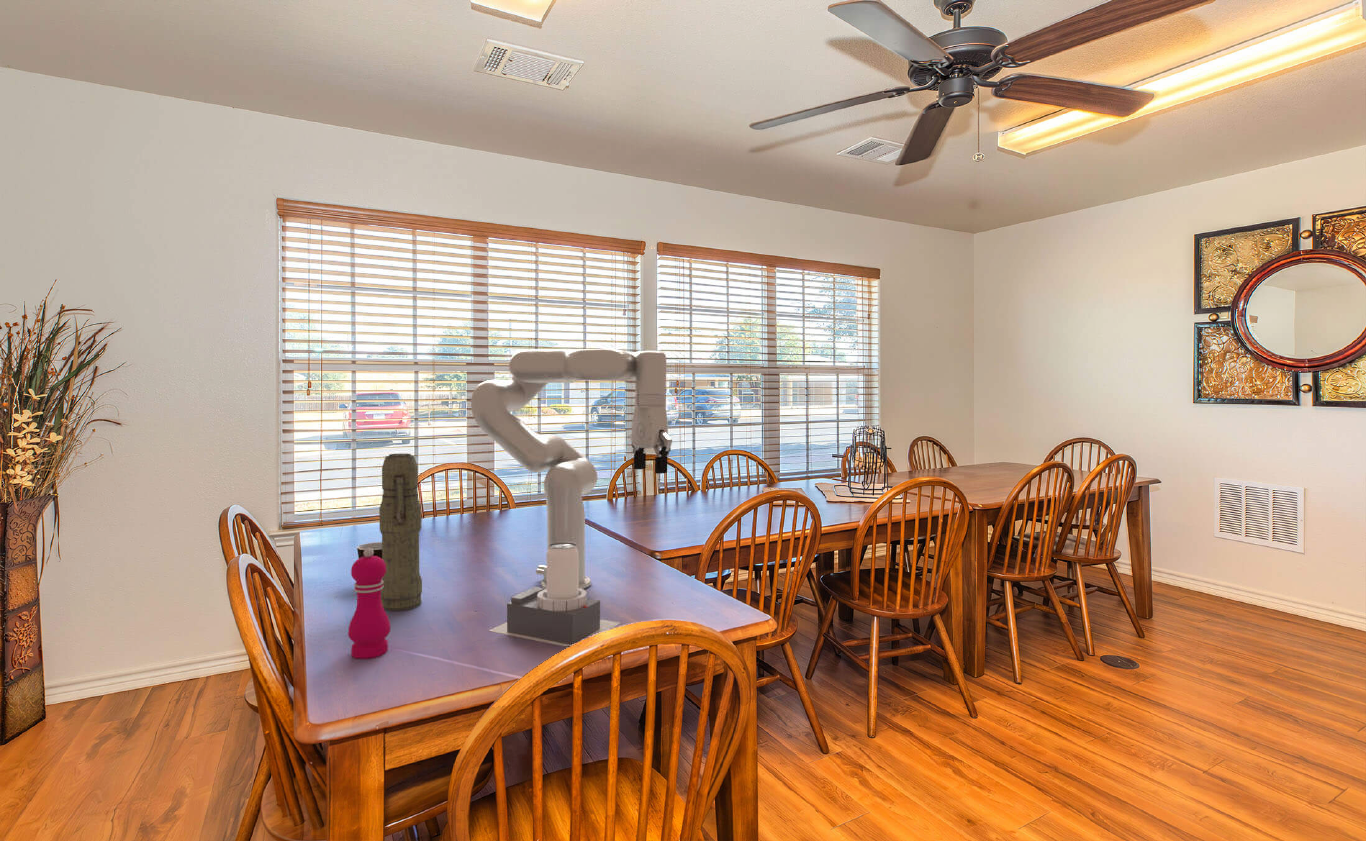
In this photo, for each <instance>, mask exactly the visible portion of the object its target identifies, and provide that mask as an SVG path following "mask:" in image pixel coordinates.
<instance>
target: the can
mask: <svg viewBox="0 0 1366 841" xmlns="http://www.w3.org/2000/svg"><path fill="white" fill-rule="evenodd" d="M576 546H577V544H575V543H572V542H557V543H552V544H550V545H549V549H548V551H547V550H546V551H547V552H546V566H547V598H548V599H554V600H561V599H571V598H575V597H577V596H579V552H578V550H577V547H576Z"/></svg>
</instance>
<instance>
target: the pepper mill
mask: <svg viewBox="0 0 1366 841" xmlns="http://www.w3.org/2000/svg"><path fill="white" fill-rule="evenodd" d="M373 554H374V551H373V549H371V548H367V549H365V550H364V557H361V558H357V559H356V560H355V561H354V562H353V564H352V565H351V569H350V574H351V577H352V579H353V580H354V581H355V583H354V588H353V589H354V591H355V593H356V598H357V599H356V600H357V601H356V607H355V611H354V613H353V616H352V617H351V620H350V622H349V626H348V632H347V633H348V638H349V639H350V640H351V641H352V642H353V644H352V645H351V648H350V649H351V656H352V657H353V658H355V659H359V660H360V659H361V660H364V659H365V660H366V659H372V658H373V659H374V658H377V657H381V656H382V655H384V654H386V653H387V652H388V650H389V648H388V647H389V644H388V643H389V642H388V640H387V639H386V638H387V636H388V635H389V634H390V632H391V621H390V620H389V617H388V615H387V613H386V610H384V608H383V606H382V602H381V589H383V587H384V586H383V582H384V581H383V580H381V579H382V578H383V576H384V575H385V573H386V564H385V562H384V561H383V559H381V558H380V557H377V556H373Z"/></svg>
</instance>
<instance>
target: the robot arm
mask: <svg viewBox="0 0 1366 841" xmlns="http://www.w3.org/2000/svg"><path fill="white" fill-rule="evenodd" d="M508 368H509V372H510V374H511V375H512V377H511V378H509V379H508V380H506V379H505V380H503V379H490V380H486V381H482V382H481V383H479V384H478V385H477V386H475V388H474V389H473V392H472V395H471V398H470V407H471V413H472V416H473V418H474V421H475V423H476V424H477V426H479V428H480V429H481V430H482V432H484V433H485V434H486V435H487V436H488V437H490V439H492V440H493V441H494V442H495V443H497V445H499V446H500V447H501V448H502V449H503V450H504V451H505V452H507V453H508V455H510V456H511V457H512V458H513V459H515V461H516V462H518V463H519V464H520V465H521V466H522V467H523V468H525V469H526V470H527V471H529V472H533V473H541V472H545V471H547V473H546V474H545V477H544V481H543V489H544V496H545V502H546V524H547V526H546V527H547V529H546V530H547V532H546V536H547V539H546V540H547V542H546V543H547V544H546V546H547V550H546V551H548V549H549V545H550V544H552V543H557V542H572V543H575V544H577V546H576V547H577V550H578V552H579V588H582V589H583V590H585V589H587V588H588V587H591V585H592V580H591V577H589V576H587V575H586V574H585V573H586V513H585V506H584V501H583V495H586V494H587V493H590V492H591V491H592V490H594V488H595V486H596V484H597V482H598V472H597V470H596V468H595V466H594V464H593V463H592V462H591V461H589V459H588V458H586V457H585V456H584V455H583V454H582V453H580V452H579V451H578V450H577V449H576V448H575V447H574V446H572V444H570V442H568V441H566V440H565V439H564V438H562V437H560V436H558V435H556V434H551V433H548V434H546V433H545V434H541V433H538V432H536V431H535V430H533V429H532V428H531V427H529V425H527V423H525V421H523V420H521V419H520V418H519V417H517V416H515V415H513V414H512V413H511V412H516V411H519V410H522V409H523V408H524V407H525V406H527V405H528V404H529V403H530V402H531V401H532V400H533V399H534V398H535V397H536V396H537V395H538V394H539V393H540V392H541V391H542V390H543V388H545V387H546V386H547V385H548V383H552V384H553V383H555V384H557V383H558V384H560V383H561V384H562V383H563V384H564V383H565V384H566V383H567V384H568V383H569V384H570V383H574V382H576V381H616V382H617V381H619V382H629V381H635V392H634V394H635V397H634V398H635V404H634V405H635V406H634V410H633V415H632V416H633V417H632V427H631V434H630V441H631V447H632V453H633V469H634V470H645V469H646V468H647V459H646V458H647V454H646V452H645V451H646V449H649V450H650V449H653V450H654V453H655V454H656V455H655V457H654V473H655V474H658V475H661V474H667V473H668V457H669V456H670V452H671V450H672V449H671V446H672V445H673V438H671V436H669V429H668V416H667V356H666V354H665V352H662V351H658V350H644V351H638V352H633V351H627V350H621V349H618V348H617V349H615V348H614V349H613V348H590V349H589V348H587V349H586V348H585V349H575V348H574V349H573V348H560V349H557V348H556V349H555V348H554V349H553V348H551V349H550V348H549V349H546V348H545V349H523V350H519V351H517V352H515V353H514V354H513V355H512V356H511V358H510V359H509V363H508ZM535 573H536V574H537V575H542V576H543V579H541V582H540V585H541V586H540V587H541V588H544V590H545V589H547V565H544V564H543V565H542V564H539V565H538V566H537V568H536V570H535Z"/></svg>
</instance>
